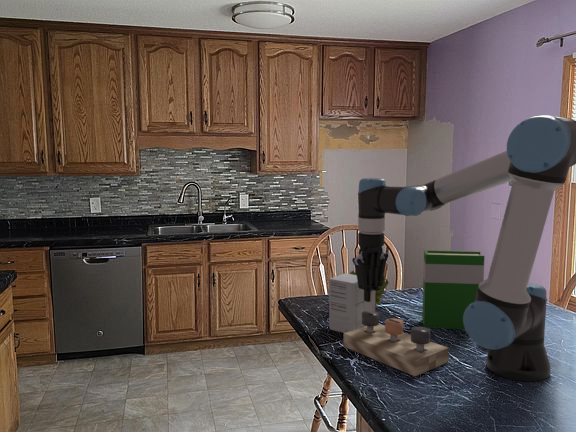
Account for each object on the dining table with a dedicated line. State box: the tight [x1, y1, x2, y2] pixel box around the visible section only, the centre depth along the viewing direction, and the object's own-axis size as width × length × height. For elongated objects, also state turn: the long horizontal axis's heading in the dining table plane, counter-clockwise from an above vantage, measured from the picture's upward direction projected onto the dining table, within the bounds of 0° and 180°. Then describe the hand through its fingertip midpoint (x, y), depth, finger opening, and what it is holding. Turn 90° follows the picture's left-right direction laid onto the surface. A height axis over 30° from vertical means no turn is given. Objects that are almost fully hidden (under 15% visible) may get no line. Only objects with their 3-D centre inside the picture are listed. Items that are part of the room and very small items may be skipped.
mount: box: [343, 323, 450, 377], centre depth 144 cm, size 26×14×4 cm, turn 38°
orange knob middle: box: [384, 317, 404, 343], centre depth 143 cm, size 5×5×7 cm
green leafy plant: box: [348, 269, 390, 309], centre depth 186 cm, size 18×16×16 cm
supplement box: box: [328, 272, 365, 334], centre depth 164 cm, size 10×9×17 cm
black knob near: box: [410, 326, 431, 353], centre depth 136 cm, size 5×5×7 cm
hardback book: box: [421, 249, 485, 331], centre depth 166 cm, size 18×7×24 cm, turn 80°
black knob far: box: [362, 311, 380, 334], centre depth 150 cm, size 5×5×7 cm
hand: (370, 311), depth 150 cm, fingers closed
